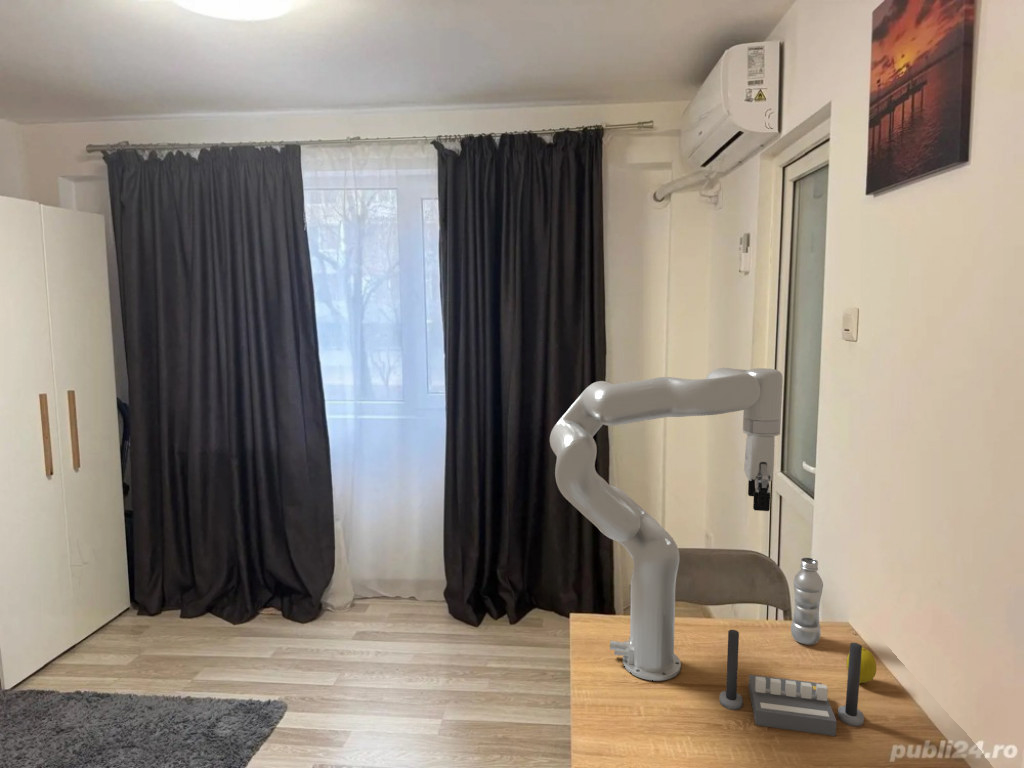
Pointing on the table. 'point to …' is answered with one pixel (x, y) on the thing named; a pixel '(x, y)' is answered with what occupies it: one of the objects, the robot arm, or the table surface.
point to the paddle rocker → (791, 689)
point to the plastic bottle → (807, 603)
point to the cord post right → (852, 689)
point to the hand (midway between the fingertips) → (758, 503)
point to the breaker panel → (791, 710)
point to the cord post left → (732, 675)
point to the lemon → (866, 666)
